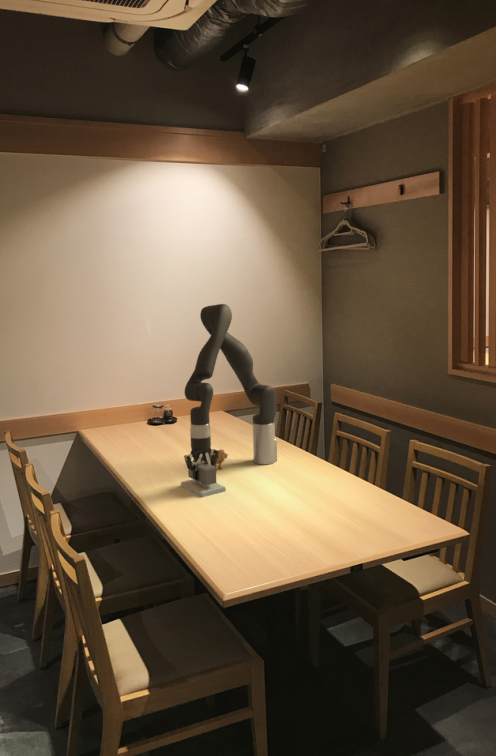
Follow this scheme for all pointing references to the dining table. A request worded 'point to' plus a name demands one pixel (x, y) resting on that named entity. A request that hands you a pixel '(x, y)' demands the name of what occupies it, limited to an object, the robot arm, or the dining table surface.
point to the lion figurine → (220, 458)
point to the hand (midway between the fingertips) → (202, 478)
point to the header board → (202, 487)
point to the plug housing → (205, 473)
